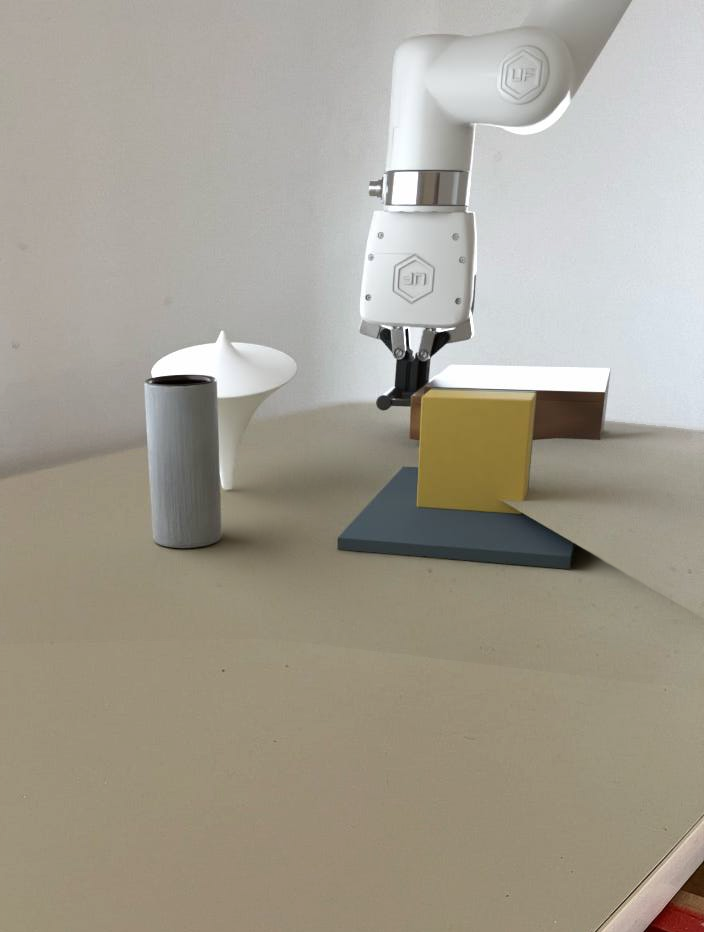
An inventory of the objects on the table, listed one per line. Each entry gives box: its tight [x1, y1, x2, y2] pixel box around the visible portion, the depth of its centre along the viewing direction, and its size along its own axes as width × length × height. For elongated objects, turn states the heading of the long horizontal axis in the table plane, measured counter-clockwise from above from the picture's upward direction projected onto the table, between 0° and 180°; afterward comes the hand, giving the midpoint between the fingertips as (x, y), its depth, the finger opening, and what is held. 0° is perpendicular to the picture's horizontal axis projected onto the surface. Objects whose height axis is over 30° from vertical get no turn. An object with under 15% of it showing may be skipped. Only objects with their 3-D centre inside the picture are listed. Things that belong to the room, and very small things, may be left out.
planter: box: [143, 374, 222, 549], centre depth 66 cm, size 4×4×10 cm
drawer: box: [375, 374, 439, 441], centre depth 93 cm, size 17×12×4 cm
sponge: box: [417, 388, 537, 514], centre depth 69 cm, size 7×4×8 cm, turn 69°
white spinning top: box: [151, 330, 298, 491], centre depth 77 cm, size 10×11×12 cm
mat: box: [336, 465, 576, 570], centre depth 71 cm, size 20×14×1 cm
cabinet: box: [424, 364, 612, 441], centre depth 92 cm, size 15×14×6 cm
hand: (410, 400), depth 100 cm, fingers closed
